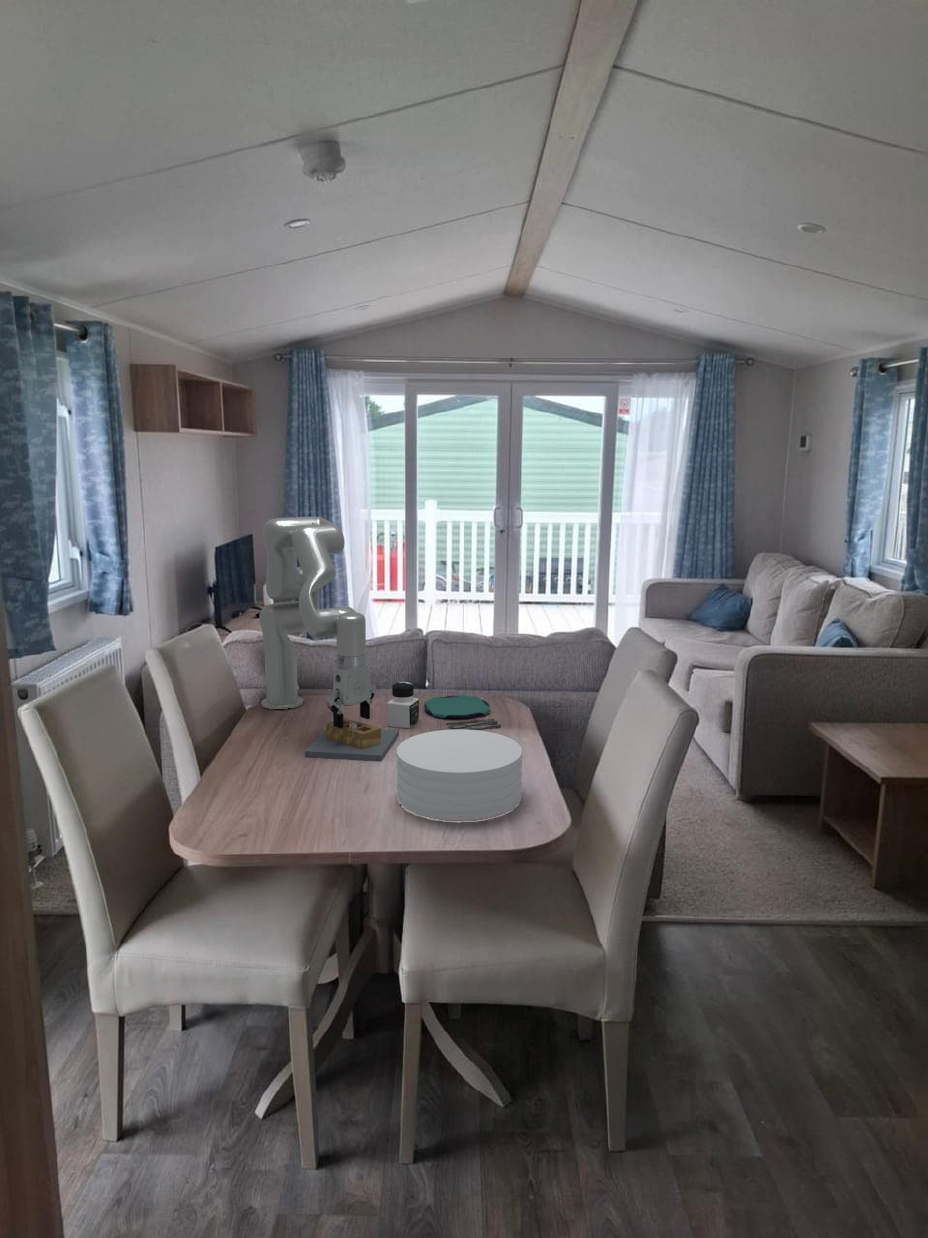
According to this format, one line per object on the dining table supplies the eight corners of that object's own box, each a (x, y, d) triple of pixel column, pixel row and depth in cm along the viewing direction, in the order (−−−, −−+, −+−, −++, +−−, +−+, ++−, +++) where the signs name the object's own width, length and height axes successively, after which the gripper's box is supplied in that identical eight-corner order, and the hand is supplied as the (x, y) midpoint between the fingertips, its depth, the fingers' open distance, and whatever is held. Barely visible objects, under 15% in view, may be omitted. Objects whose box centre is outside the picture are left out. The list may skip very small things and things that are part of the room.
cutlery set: (479, 699, 268) (479, 692, 267) (508, 730, 239) (508, 722, 239) (417, 704, 263) (417, 697, 262) (439, 736, 234) (439, 729, 234)
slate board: (328, 731, 235) (328, 726, 235) (398, 735, 233) (398, 730, 232) (305, 756, 216) (304, 751, 216) (381, 761, 213) (381, 755, 213)
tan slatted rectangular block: (326, 737, 226) (326, 723, 225) (344, 731, 231) (343, 717, 230) (363, 749, 217) (363, 734, 217) (381, 742, 222) (380, 728, 222)
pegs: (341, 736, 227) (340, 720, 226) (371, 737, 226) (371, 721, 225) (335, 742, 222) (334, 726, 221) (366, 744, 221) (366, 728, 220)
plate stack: (371, 800, 190) (370, 751, 187) (452, 765, 211) (452, 721, 208) (467, 836, 172) (467, 783, 170) (545, 794, 193) (546, 746, 191)
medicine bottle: (410, 729, 238) (409, 688, 236) (386, 726, 240) (386, 685, 238) (419, 721, 245) (419, 681, 242) (396, 719, 247) (396, 679, 245)
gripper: (336, 669, 211) (337, 734, 215) (384, 656, 224) (384, 717, 228) (316, 664, 216) (317, 727, 219) (364, 651, 229) (365, 711, 233)
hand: (351, 722), depth 224 cm, fingers open, 9 cm apart
